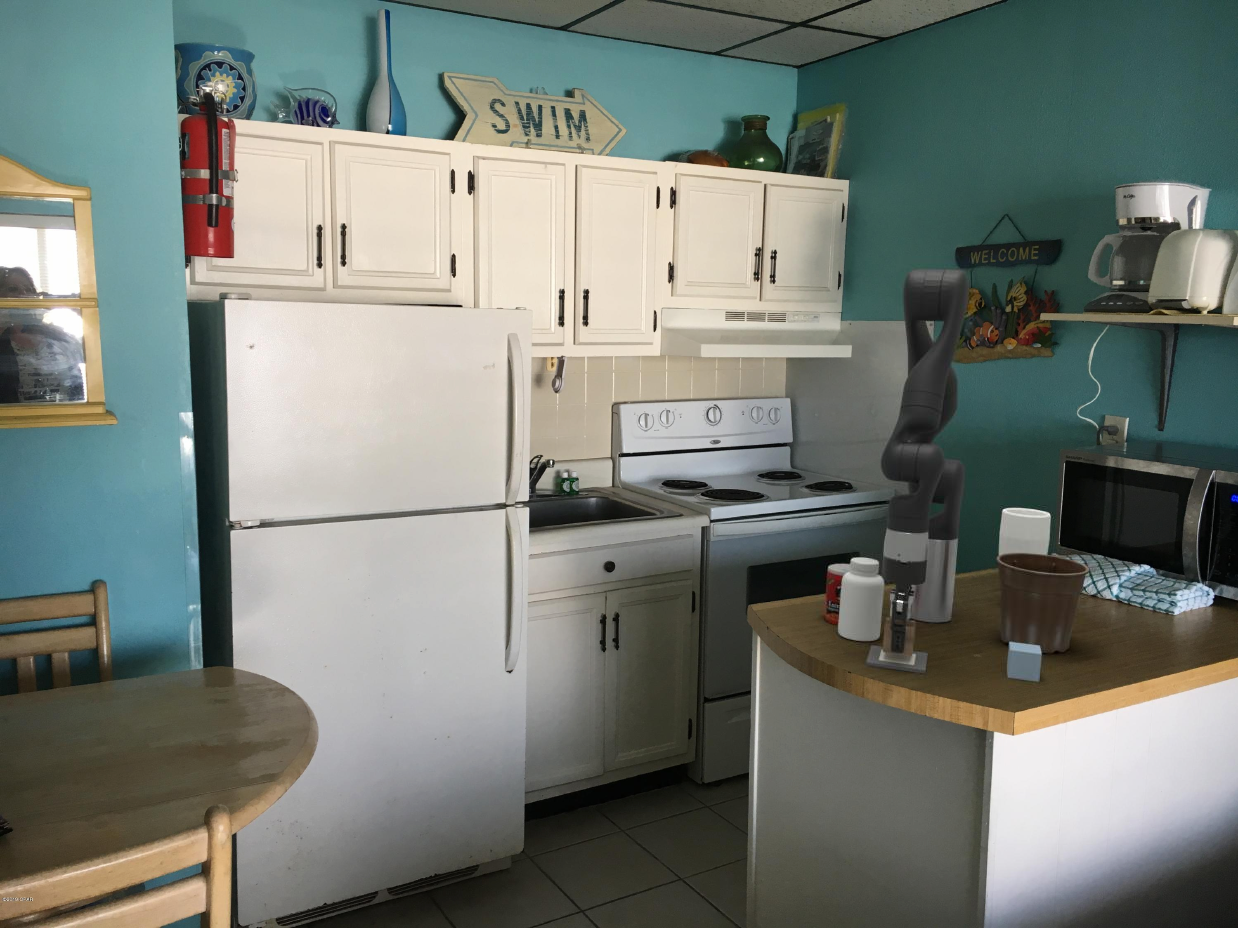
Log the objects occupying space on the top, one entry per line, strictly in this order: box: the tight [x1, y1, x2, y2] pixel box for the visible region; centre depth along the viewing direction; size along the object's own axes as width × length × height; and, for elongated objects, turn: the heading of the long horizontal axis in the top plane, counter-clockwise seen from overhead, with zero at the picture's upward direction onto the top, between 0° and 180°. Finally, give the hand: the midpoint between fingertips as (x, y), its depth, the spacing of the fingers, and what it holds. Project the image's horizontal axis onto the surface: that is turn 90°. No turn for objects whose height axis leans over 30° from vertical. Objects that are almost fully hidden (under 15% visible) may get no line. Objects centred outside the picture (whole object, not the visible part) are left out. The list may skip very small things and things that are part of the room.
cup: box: [998, 507, 1052, 556], centre depth 210 cm, size 10×10×22 cm
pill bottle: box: [837, 557, 885, 642], centre depth 188 cm, size 8×8×15 cm
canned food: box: [824, 563, 851, 626], centre depth 198 cm, size 8×8×11 cm
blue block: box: [1006, 642, 1043, 683], centre depth 170 cm, size 5×5×5 cm
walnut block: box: [882, 617, 917, 656], centre depth 174 cm, size 5×5×5 cm
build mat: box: [865, 645, 929, 675], centre depth 175 cm, size 10×10×1 cm
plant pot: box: [996, 553, 1090, 654], centre depth 187 cm, size 16×16×16 cm
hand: (898, 646), depth 175 cm, fingers closed on walnut block, 5 cm apart
